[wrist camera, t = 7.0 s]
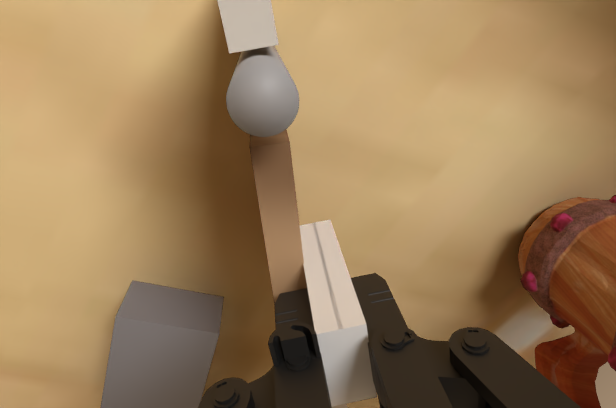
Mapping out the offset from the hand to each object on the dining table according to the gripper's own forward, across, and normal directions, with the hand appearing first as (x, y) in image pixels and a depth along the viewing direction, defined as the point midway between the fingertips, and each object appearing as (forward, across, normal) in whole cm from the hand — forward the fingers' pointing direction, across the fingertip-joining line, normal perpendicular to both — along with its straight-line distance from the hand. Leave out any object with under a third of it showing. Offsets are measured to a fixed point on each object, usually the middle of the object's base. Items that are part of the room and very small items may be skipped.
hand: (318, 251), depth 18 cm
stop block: (+10, -12, -11) cm, 19 cm away
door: (+9, -1, 0) cm, 9 cm away
